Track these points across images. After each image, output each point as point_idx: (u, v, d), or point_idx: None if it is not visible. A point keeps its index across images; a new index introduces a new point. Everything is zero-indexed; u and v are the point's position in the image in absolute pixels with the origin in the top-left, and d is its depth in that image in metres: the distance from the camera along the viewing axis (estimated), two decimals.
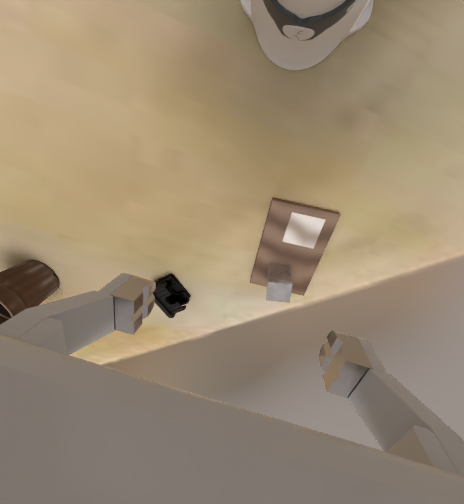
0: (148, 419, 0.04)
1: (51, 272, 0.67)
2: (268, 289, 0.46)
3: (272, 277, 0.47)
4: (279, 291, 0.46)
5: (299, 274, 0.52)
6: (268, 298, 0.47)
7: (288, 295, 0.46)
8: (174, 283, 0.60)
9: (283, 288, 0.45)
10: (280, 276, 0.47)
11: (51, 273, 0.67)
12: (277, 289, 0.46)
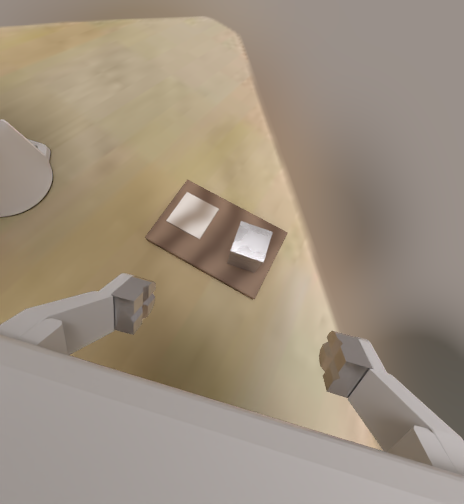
0: (148, 419, 0.04)
1: None
2: (244, 253, 0.31)
3: None
4: (250, 240, 0.32)
5: None
6: (260, 258, 0.31)
7: (259, 230, 0.32)
8: None
9: (246, 233, 0.32)
10: None
11: None
12: (245, 241, 0.31)
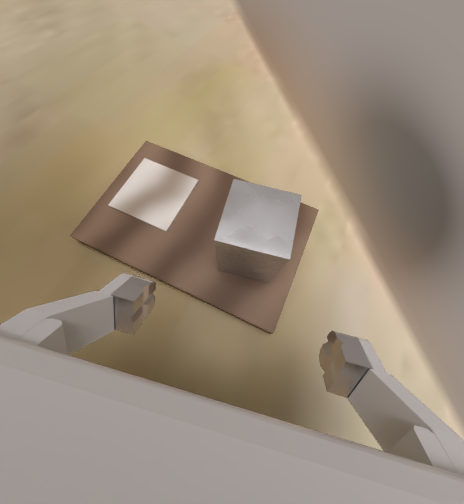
0: (148, 419, 0.04)
1: None
2: (244, 244, 0.14)
3: None
4: (256, 214, 0.15)
5: None
6: (283, 251, 0.14)
7: (273, 194, 0.15)
8: None
9: (245, 202, 0.15)
10: None
11: None
12: (246, 218, 0.14)
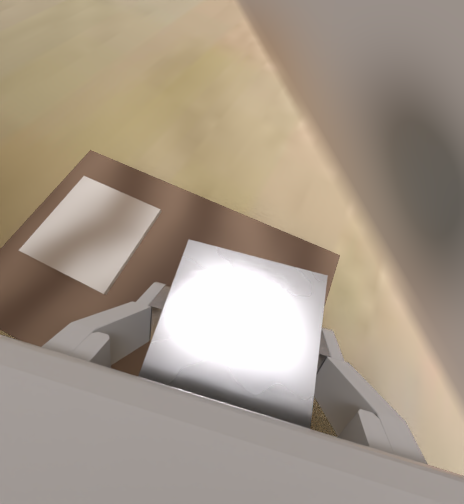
0: (148, 419, 0.04)
1: None
2: None
3: None
4: (231, 325, 0.07)
5: None
6: None
7: (270, 273, 0.07)
8: None
9: (210, 295, 0.07)
10: None
11: None
12: (208, 336, 0.07)
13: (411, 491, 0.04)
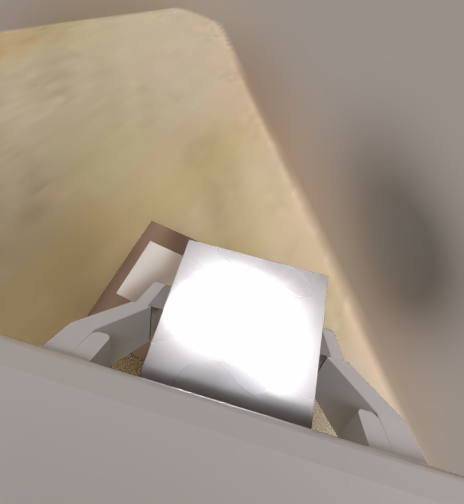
0: (148, 419, 0.04)
1: None
2: None
3: None
4: (231, 326, 0.07)
5: None
6: None
7: (270, 274, 0.07)
8: None
9: (210, 295, 0.07)
10: None
11: None
12: (208, 337, 0.07)
13: (411, 491, 0.04)
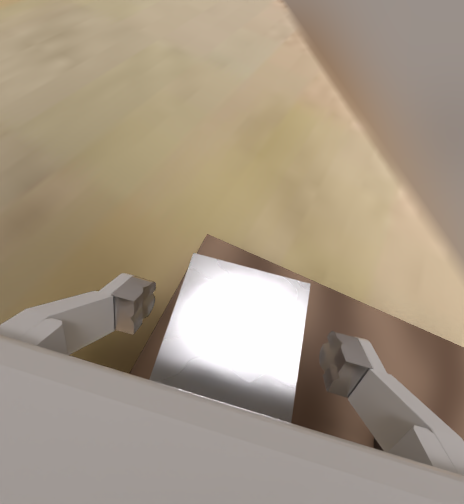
0: (148, 419, 0.04)
1: None
2: (204, 394, 0.07)
3: None
4: (229, 325, 0.08)
5: (391, 360, 0.15)
6: (277, 408, 0.07)
7: (262, 282, 0.09)
8: None
9: (211, 300, 0.08)
10: None
11: None
12: (210, 335, 0.08)
13: (411, 491, 0.04)
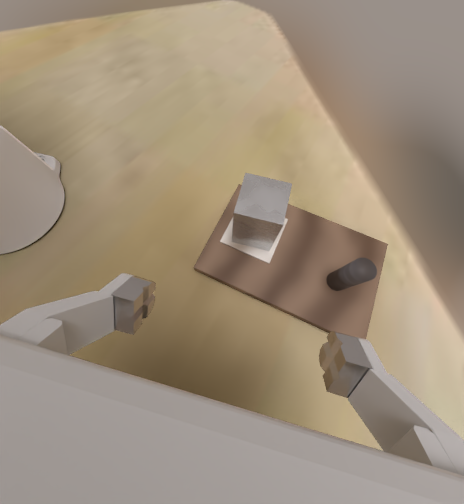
0: (148, 419, 0.04)
1: None
2: (253, 215, 0.21)
3: None
4: (261, 196, 0.22)
5: (338, 245, 0.29)
6: (279, 219, 0.21)
7: (273, 183, 0.22)
8: None
9: (254, 188, 0.22)
10: None
11: None
12: (254, 199, 0.22)
13: (411, 491, 0.04)
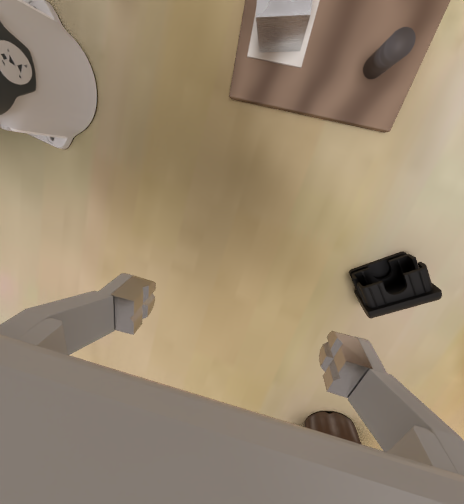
0: (148, 419, 0.04)
1: (324, 414, 0.54)
2: (277, 12, 0.20)
3: None
4: None
5: (386, 10, 0.24)
6: (305, 8, 0.20)
7: None
8: (367, 271, 0.36)
9: None
10: None
11: (325, 414, 0.53)
12: None
13: (411, 491, 0.04)
